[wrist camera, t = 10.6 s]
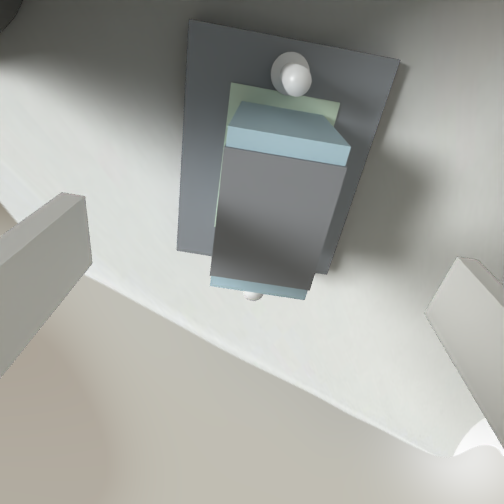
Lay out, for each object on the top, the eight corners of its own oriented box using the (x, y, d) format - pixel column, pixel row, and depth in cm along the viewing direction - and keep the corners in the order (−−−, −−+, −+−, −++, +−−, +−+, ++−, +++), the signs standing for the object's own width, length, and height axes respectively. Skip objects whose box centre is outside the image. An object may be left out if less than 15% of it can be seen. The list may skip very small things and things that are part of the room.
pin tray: (180, 242, 27) (154, 299, 21) (193, 20, 19) (157, 5, 13) (324, 266, 27) (341, 328, 21) (393, 59, 20) (450, 62, 14)
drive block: (225, 219, 24) (208, 288, 17) (241, 100, 20) (226, 126, 13) (295, 230, 24) (305, 302, 17) (323, 115, 20) (353, 148, 13)
